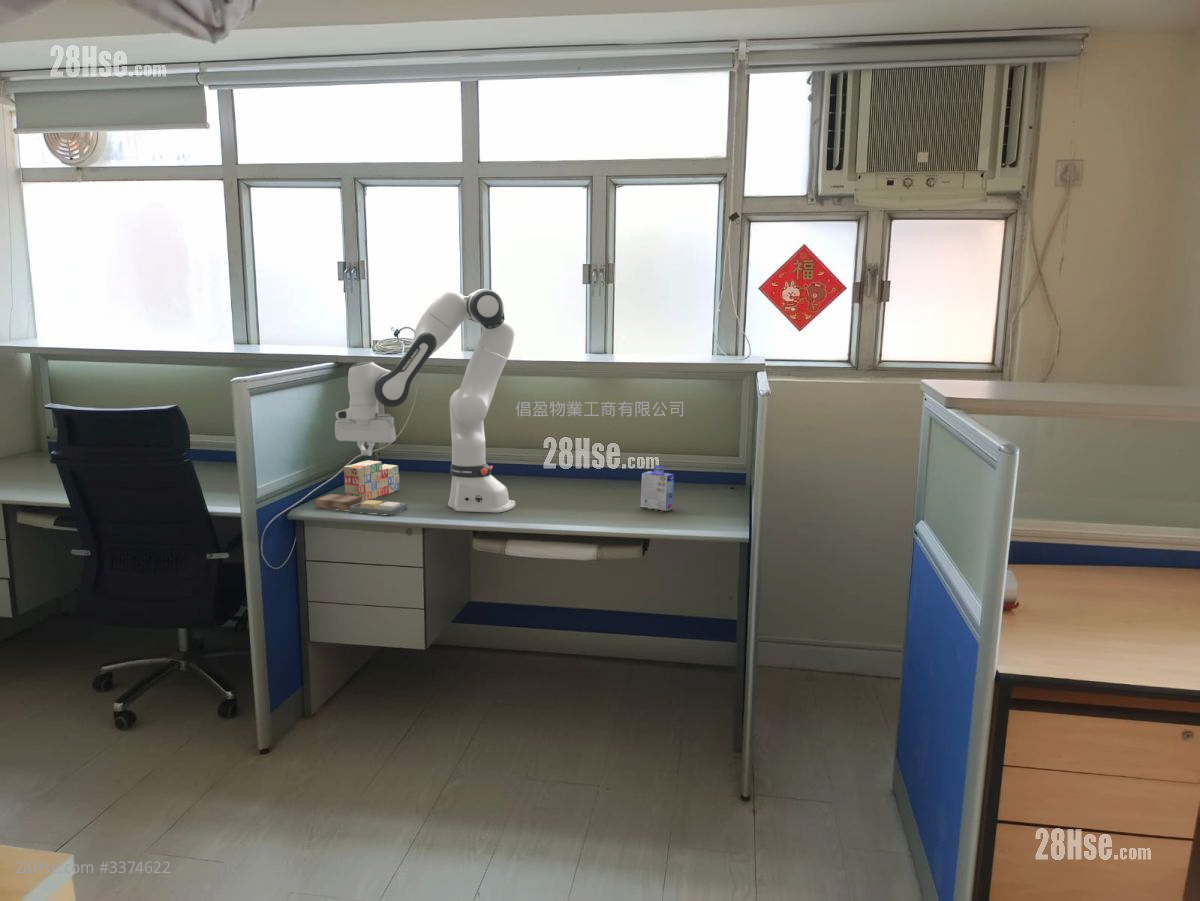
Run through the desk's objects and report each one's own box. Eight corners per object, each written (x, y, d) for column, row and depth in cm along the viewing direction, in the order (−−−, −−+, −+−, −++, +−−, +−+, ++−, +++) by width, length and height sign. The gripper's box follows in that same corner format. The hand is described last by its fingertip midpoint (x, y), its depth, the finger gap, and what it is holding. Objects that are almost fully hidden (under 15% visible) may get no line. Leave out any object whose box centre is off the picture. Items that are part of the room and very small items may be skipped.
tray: (406, 508, 266) (406, 503, 266) (391, 516, 256) (391, 510, 256) (366, 505, 270) (366, 499, 269) (349, 512, 260) (349, 506, 260)
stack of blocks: (385, 488, 294) (384, 455, 292) (399, 490, 292) (398, 457, 289) (344, 501, 275) (343, 465, 273) (359, 503, 272) (358, 467, 270)
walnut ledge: (362, 505, 269) (361, 496, 269) (348, 511, 262) (348, 502, 261) (330, 502, 272) (329, 493, 272) (316, 508, 265) (315, 499, 264)
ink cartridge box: (673, 509, 272) (675, 467, 269) (666, 512, 267) (667, 469, 264) (647, 505, 277) (648, 463, 274) (640, 508, 272) (641, 466, 269)
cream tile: (386, 501, 264) (386, 507, 265) (378, 505, 260) (378, 511, 260) (400, 502, 263) (400, 508, 263) (392, 506, 258) (392, 512, 259)
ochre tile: (382, 507, 265) (382, 501, 265) (374, 510, 261) (374, 504, 260) (369, 505, 267) (368, 499, 266) (360, 509, 262) (360, 503, 261)
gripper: (398, 412, 259) (400, 455, 261) (342, 410, 264) (344, 452, 267) (388, 415, 253) (390, 458, 255) (330, 413, 258) (333, 455, 261)
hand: (366, 455), depth 261 cm, fingers closed
